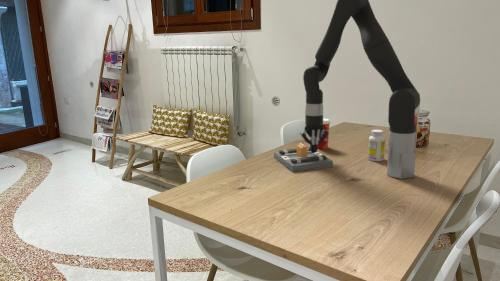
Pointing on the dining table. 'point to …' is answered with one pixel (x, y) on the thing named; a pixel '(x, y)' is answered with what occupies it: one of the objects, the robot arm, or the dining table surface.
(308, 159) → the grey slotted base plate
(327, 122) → the paper cup
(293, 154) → the breaker panel
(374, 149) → the supplement bottle
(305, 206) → the dining table surface
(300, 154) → the block
